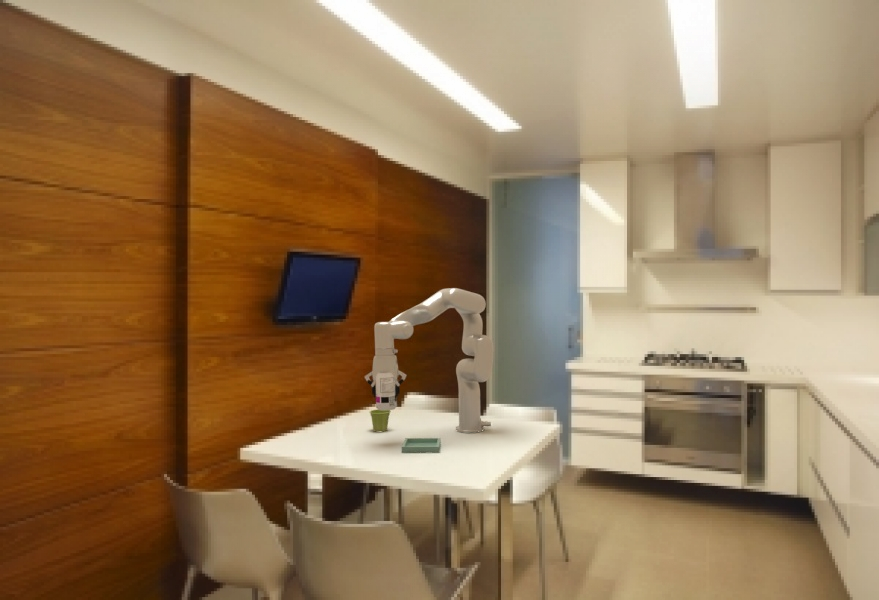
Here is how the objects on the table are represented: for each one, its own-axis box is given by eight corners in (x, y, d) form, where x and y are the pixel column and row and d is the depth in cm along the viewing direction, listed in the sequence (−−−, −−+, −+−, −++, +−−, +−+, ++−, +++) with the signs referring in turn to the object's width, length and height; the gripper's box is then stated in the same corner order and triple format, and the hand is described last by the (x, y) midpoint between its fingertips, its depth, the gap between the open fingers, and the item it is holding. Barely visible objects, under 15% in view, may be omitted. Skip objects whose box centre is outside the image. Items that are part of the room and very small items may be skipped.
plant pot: (389, 432, 237) (389, 413, 237) (368, 433, 237) (368, 413, 237) (391, 428, 246) (391, 409, 246) (371, 428, 246) (371, 409, 246)
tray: (440, 443, 216) (440, 437, 216) (438, 452, 202) (438, 446, 202) (405, 443, 217) (405, 438, 217) (401, 452, 203) (401, 446, 203)
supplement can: (372, 410, 215) (371, 372, 215) (383, 406, 222) (382, 370, 222) (389, 411, 211) (388, 373, 211) (400, 407, 219) (399, 370, 219)
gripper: (407, 351, 220) (408, 393, 220) (364, 352, 221) (366, 395, 221) (405, 352, 213) (406, 397, 213) (361, 354, 214) (362, 398, 213)
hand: (386, 395), depth 217 cm, fingers closed on supplement can, 8 cm apart
